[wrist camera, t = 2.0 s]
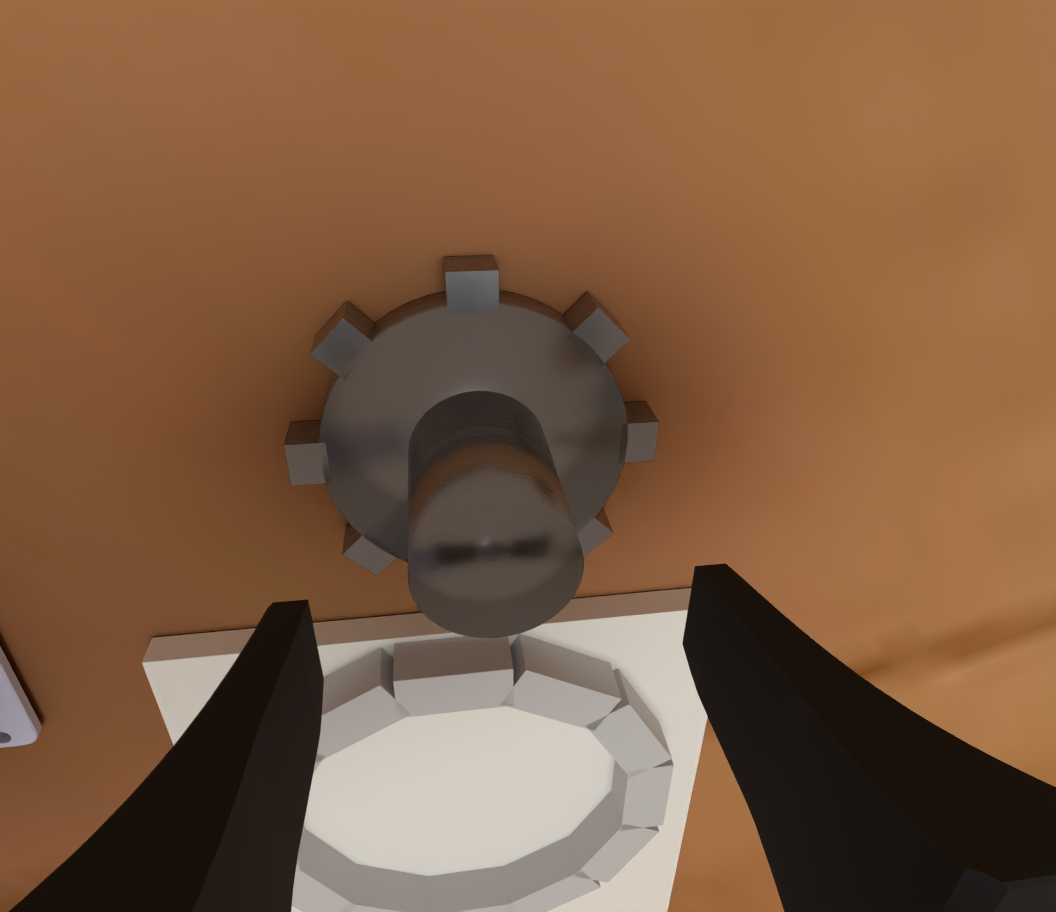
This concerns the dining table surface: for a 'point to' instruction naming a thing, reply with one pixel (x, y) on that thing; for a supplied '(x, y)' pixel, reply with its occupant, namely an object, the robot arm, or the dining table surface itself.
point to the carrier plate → (485, 758)
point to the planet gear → (474, 445)
